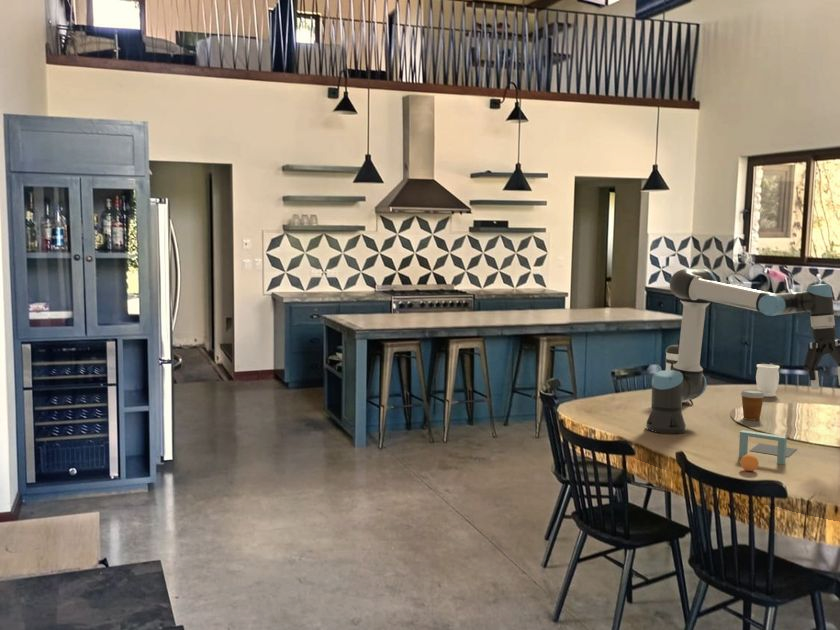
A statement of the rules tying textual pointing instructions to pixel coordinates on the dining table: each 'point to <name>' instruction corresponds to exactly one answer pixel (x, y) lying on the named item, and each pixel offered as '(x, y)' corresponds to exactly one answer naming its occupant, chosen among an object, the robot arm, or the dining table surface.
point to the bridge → (781, 439)
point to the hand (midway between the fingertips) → (829, 387)
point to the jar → (767, 379)
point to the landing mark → (771, 449)
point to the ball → (749, 462)
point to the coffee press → (673, 360)
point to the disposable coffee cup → (752, 403)
